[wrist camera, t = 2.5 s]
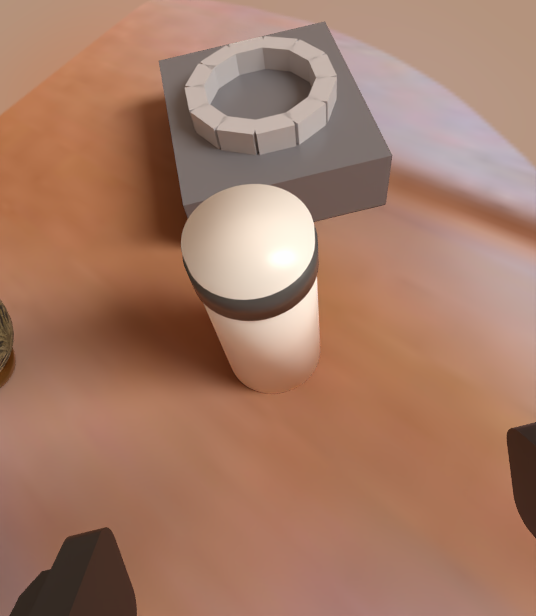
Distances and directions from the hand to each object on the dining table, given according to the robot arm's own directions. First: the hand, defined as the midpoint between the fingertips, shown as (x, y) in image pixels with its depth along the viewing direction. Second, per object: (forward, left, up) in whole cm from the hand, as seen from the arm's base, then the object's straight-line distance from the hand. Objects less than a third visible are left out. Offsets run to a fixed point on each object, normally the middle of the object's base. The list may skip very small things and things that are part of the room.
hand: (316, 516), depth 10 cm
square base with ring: (+3, +26, -14) cm, 29 cm away
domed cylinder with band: (0, +11, -14) cm, 17 cm away
